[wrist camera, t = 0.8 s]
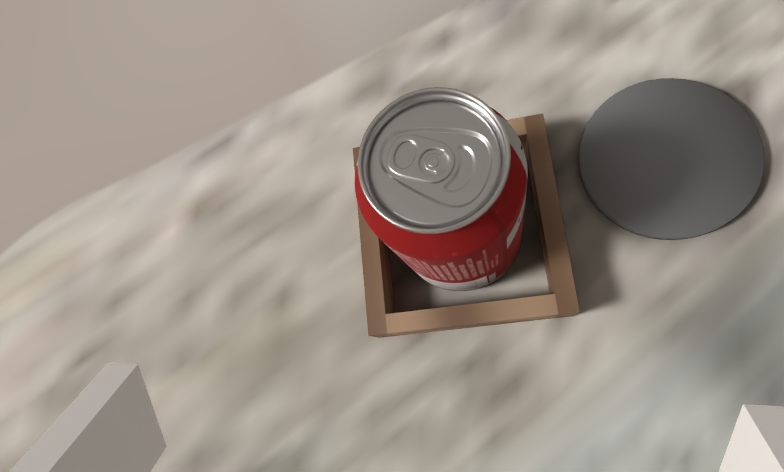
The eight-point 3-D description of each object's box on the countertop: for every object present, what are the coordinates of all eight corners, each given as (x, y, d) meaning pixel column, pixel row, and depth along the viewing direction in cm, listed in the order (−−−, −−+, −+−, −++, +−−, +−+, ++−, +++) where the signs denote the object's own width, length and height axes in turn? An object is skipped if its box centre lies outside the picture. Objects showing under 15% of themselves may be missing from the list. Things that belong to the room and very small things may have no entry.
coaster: (734, 69, 29) (738, 63, 28) (780, 226, 27) (786, 223, 26) (565, 100, 30) (566, 95, 30) (595, 250, 28) (596, 248, 28)
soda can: (500, 309, 29) (495, 276, 17) (387, 271, 30) (314, 219, 19) (536, 195, 30) (553, 92, 18) (424, 165, 31) (376, 55, 20)
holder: (540, 132, 30) (543, 113, 28) (573, 315, 28) (579, 311, 25) (364, 163, 32) (352, 148, 30) (379, 337, 30) (368, 335, 27)
